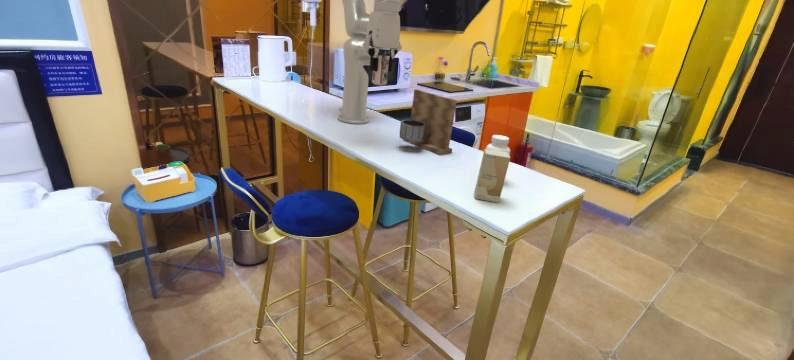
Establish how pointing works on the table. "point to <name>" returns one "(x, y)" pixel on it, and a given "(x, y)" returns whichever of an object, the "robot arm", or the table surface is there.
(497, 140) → the supplement bottle
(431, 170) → the table surface
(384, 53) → the beer can
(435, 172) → the table surface
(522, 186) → the table surface
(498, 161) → the skincare box
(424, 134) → the cup bracket
